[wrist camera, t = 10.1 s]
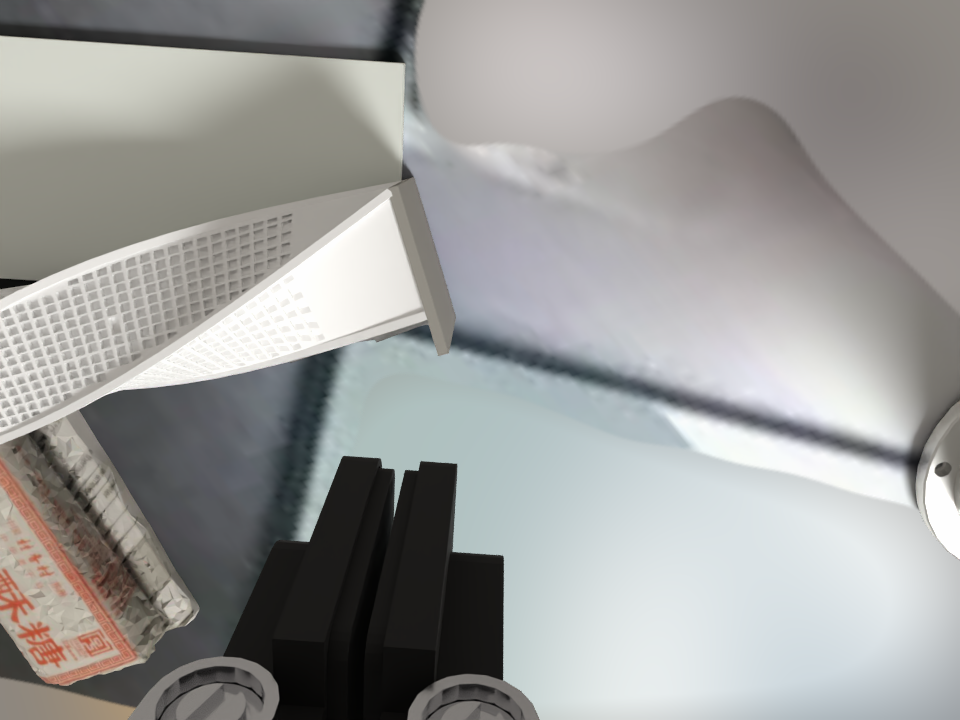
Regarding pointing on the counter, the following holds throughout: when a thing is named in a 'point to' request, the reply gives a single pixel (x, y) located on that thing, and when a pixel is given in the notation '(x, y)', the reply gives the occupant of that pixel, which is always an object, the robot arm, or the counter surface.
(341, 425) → the counter surface
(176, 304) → the twisted tower model
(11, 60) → the mat
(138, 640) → the packaged product
